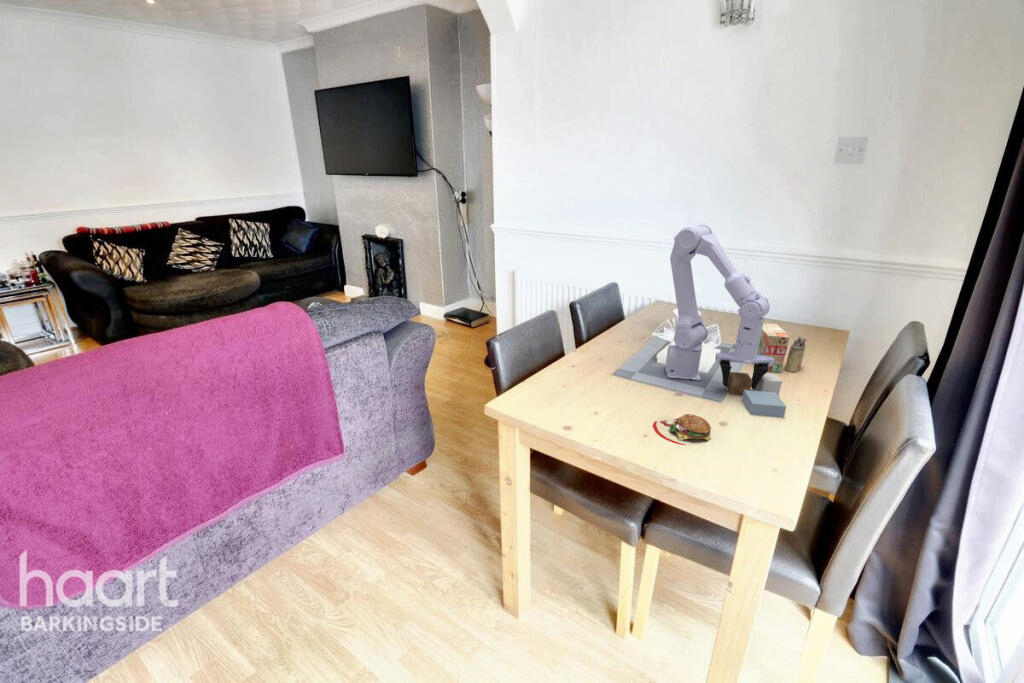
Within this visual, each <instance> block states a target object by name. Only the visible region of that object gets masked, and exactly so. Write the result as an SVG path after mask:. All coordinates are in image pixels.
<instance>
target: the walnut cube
mask: <svg viewBox="0 0 1024 683" xmlns="http://www.w3.org/2000/svg"><path fill="white" fill-rule="evenodd" d="M751 386H752V377H751V376H750V375H749V373H747V372H736V371H730V373H729V377H728V384H727V388H726V390H727V389H728V390H727V392H728V395H730V396H734V397H735V396H737V397H742V396H743V391H744V390H752V387H751Z"/></svg>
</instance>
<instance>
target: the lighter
mask: <svg viewBox="0 0 1024 683" xmlns="http://www.w3.org/2000/svg"><path fill="white" fill-rule="evenodd" d="M806 341H807V339H806V338H802V337H801V336H798V337H797V339H795V340H794V341H793V343H792V344H791V346H790V348H789V351H788V354H787V359H786V363H785V367H784V370H786V371H787V372H790V373H797V372H799V371H800V369H801V367H802V362H803V359H804V355H805V351H806Z"/></svg>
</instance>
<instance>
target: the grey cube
mask: <svg viewBox="0 0 1024 683" xmlns="http://www.w3.org/2000/svg"><path fill="white" fill-rule="evenodd" d="M782 383H783V381H782V380H781V379H780V378H779V377H778V376H776V375H775V374H774V373H766V374H765V375H764V376H763V377H762V378H761V379H760V381H759V382H758V384H757V386H756V388H755V389H752V388H751V390H752V391H764V392H775V393H776V394H777V395H778V397H779V396H780V392H781V388H782Z"/></svg>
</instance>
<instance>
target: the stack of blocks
mask: <svg viewBox="0 0 1024 683" xmlns="http://www.w3.org/2000/svg"><path fill="white" fill-rule="evenodd" d="M790 338H791V337H790V336H789V335H788V334H787V332H786V331H785V330H784V329H783V328H781V327H780V326H779V324H777V323H767V322H766V323H765V322H763V329H762V334H761V338H760V343H759V347H758V352H757V355H761V356H767V357H772V358H773V359H774V363H773V366H768V367H769V370H768V372H767V373H771V374H774V373H775V374H781V373H782V369H783V366H784V361H785V356H786V355H787V354H786V353H787V351H788V346H789V341H790Z"/></svg>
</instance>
